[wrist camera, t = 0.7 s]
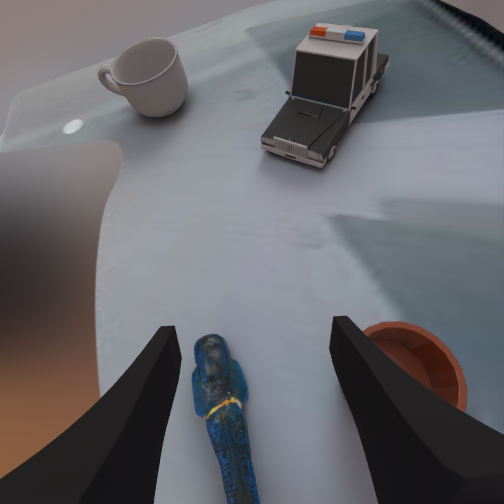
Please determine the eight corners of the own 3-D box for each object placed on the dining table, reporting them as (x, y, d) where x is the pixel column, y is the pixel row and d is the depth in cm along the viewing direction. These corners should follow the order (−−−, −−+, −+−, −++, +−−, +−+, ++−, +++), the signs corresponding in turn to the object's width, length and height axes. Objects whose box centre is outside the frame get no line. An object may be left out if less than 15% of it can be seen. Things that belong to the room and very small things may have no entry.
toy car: (259, 153, 40) (245, 84, 31) (325, 67, 46) (329, -11, 38) (325, 175, 36) (330, 104, 27) (386, 78, 43) (407, -6, 34)
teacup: (203, 85, 50) (186, 35, 43) (181, 128, 46) (158, 80, 39) (137, 86, 54) (111, 39, 47) (111, 125, 49) (78, 81, 42)
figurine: (277, 520, 22) (230, 337, 30) (288, 531, 19) (233, 325, 27) (219, 546, 21) (185, 349, 29) (220, 563, 18) (182, 337, 26)
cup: (446, 435, 22) (484, 445, 18) (344, 430, 24) (353, 438, 19) (422, 334, 26) (448, 320, 21) (334, 335, 27) (340, 321, 22)
